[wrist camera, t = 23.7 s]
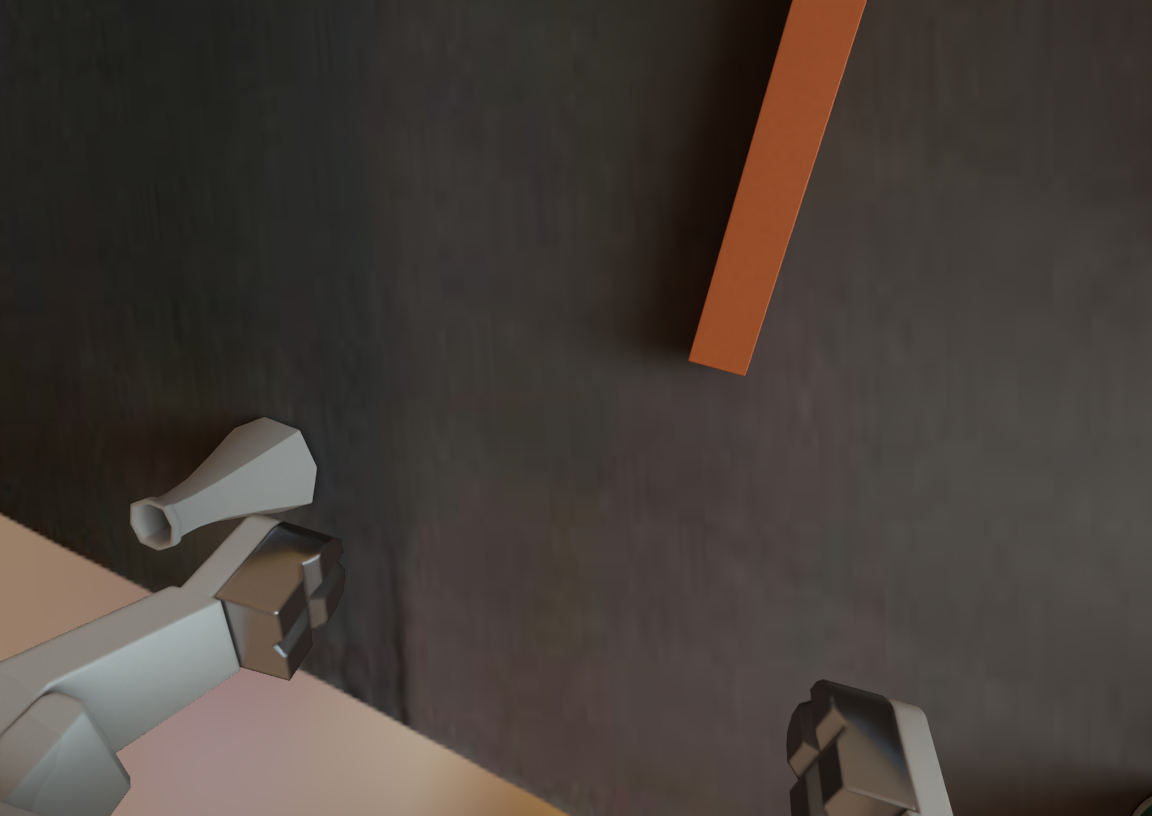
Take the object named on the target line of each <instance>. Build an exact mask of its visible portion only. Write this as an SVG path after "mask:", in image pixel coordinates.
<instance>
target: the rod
mask: <svg viewBox="0 0 1152 816" xmlns="http://www.w3.org/2000/svg"><path fill="white" fill-rule="evenodd" d="M866 1H867V0H792V3H791V6H790V10H789V13H788V17H787V20H786V23H785V27H784V30H783V34H782V37H781V41H780V44H779V48H778V51H777V55H776V58H775V62H774V65H773V68H772V72H771V75H770V79H769V82H768V86H767V89H766V93H765V96H764V100H763V103H762V106H761V110H760V113H759V117H758V120H757V124H756V127H755V131H754V134H753V138H752V141H751V144H750V148H749V151H748V155H747V158H746V162H745V165H744V169H743V172H742V176H741V179H740V182H739V186H738V189H737V193H736V196H735V200H734V203H733V207H732V210H731V214H730V217H729V221H728V224H727V227H726V231H725V234H724V238H723V241H722V245H721V248H720V252H719V255H718V259H717V262H716V265H715V269H714V272H713V276H712V279H711V283H710V286H709V290H708V293H707V297H706V300H705V303H704V307H703V310H702V314H701V317H700V321H699V324H698V328H697V331H696V335H695V338H694V342H693V345H692V348H691V352H690V355H689V359H688V361H691V362H694V363H698V364H702V365H705V366H709V367H713V368H716V369H720V370H724V371H727V372H731V373H735V374H738V375H742V376H745V375H746V372H747V369H748V366H749V363H750V360H751V357H752V354H753V350H754V347H755V344H756V341H757V338H758V335H759V332H760V329H761V326H762V323H763V320H764V317H765V313H766V310H767V307H768V304H769V301H770V298H771V295H772V292H773V289H774V286H775V283H776V279H777V276H778V273H779V270H780V267H781V264H782V261H783V258H784V255H785V252H786V249H787V245H788V242H789V239H790V236H791V233H792V230H793V227H794V224H795V221H796V218H797V215H798V211H799V208H800V205H801V202H802V199H803V196H804V193H805V190H806V187H807V184H808V181H809V177H810V174H811V171H812V168H813V165H814V162H815V159H816V156H817V153H818V150H819V147H820V143H821V140H822V137H823V134H824V131H825V128H826V125H827V122H828V119H829V116H830V113H831V110H832V106H833V103H834V100H835V97H836V94H837V91H838V88H839V85H840V82H841V79H842V76H843V72H844V69H845V66H846V63H847V60H848V57H849V54H850V51H851V48H852V45H853V42H854V38H855V35H856V32H857V29H858V26H859V23H860V20H861V17H862V14H863V11H864V8H865V4H866Z"/></svg>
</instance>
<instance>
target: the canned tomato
mask: <svg viewBox="0 0 1152 816" xmlns="http://www.w3.org/2000/svg"><path fill="white" fill-rule="evenodd" d="M1132 816H1152V796H1151V797H1150V798H1148V799H1147V800H1145V801H1144V802H1143V803H1142V804H1141V805H1140V806H1139V807H1138V808H1137V809H1136V810H1135V812H1134V813H1133V815H1132Z"/></svg>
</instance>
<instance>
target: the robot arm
mask: <svg viewBox="0 0 1152 816" xmlns="http://www.w3.org/2000/svg"><path fill="white" fill-rule="evenodd" d="M342 554H343V545H342V539H339V538H335V537H332V536H329V535H326V534H323V533H319V532H316V531H313V530H310V529H306V528H303V527H300V526H297V525H293V524H290V523H287V522H285V521H281V520H278V519H275V518H271V517H268V516H264V515H261V514H257V513H255V514H253V515H251V516H249V517H248V518H246V519H244V520H243V521H242V522H241V523H240V524H239V526H238V527H237V528H236V529H235V530H234V531H233V532H232V533H231V534H230V535H229V536H228V537H227V538H226V539H225V541H224V542H223V543H222V544H221V545H220V546H219V547H218V548H217V549H216V550H215V551H214V552H213V553H212V555H211V556H210V557H209V558H208V559H207V560H206V561H205V562H204V563H203V564H202V565H201V566H200V567H199V568H198V570H197V571H196V572H195V573H194V574H193V575H192V576H191V577H190V578H189V579H188V580H187V581H186V582H185V583H184V585H183V586H182V587H181V588H179V587H175V586H170V587H168V588H165V589H163V590H161V591H159V592H156V593H154V594H152V595H150V596H147V597H145V598H143V599H141V600H138V601H136V602H134V603H131V604H129V605H127V606H125V607H122V608H120V609H118V610H116V611H113V612H111V613H109V614H107V615H104V616H102V617H100V618H98V619H95V620H93V621H91V622H89V623H86V624H84V625H82V626H80V627H77V628H75V629H73V630H71V631H68V632H66V633H64V634H62V635H59V636H57V637H55V638H52V639H51V640H48V641H46V642H43V643H41V644H39V645H37V646H34V647H33V648H30V649H28V650H25V651H23V652H21V653H19V654H16V655H14V656H12V657H10V658H7V659H5V660H3V661H1V662H0V816H110V815H111V814H112V812H113V811H114V810H115V808H116V807H117V806H118V804H119V803H120V802H121V800H122V799H123V798H124V796H125V795H126V793H127V792H128V791H129V789H130V776H129V775H128V773H127V771H126V770H125V768H124V767H123V765H122V763H121V762H120V760H119V758H118V757H117V755H116V752H118V751H119V750H121V749H123V748H124V747H125V746H127V745H129V744H130V743H132V742H133V741H135V740H136V739H138V738H139V737H141V736H142V735H144V734H145V733H147V732H148V731H149V730H151V729H153V728H154V727H156V726H157V725H159V724H160V723H162V722H163V721H165V720H166V719H168V718H169V717H171V716H172V715H174V714H175V713H177V712H178V711H180V710H181V709H183V708H184V707H186V706H187V705H189V704H190V703H192V702H193V701H195V700H196V699H198V698H199V697H201V696H202V695H204V694H206V693H207V692H209V691H210V690H212V689H213V688H215V687H216V686H217V685H219V684H221V683H222V682H223V681H225V680H227V679H228V678H230V677H231V676H233V675H234V674H236V673H237V672H239V671H240V667H242V668H245V669H249V670H252V671H256V672H260V673H263V674H267V675H270V676H274V677H278V678H281V679H285V680H288V681H290V679H291V678H292V676H293V675H294V673H295V672H296V670H297V669H298V667H299V666H300V664H301V663H302V661H303V660H304V658H305V656H306V655H307V653H308V652H309V650H310V649H311V647H312V646H313V642H312V630H314V629H316V628H318V627H320V626H322V625H323V624H325V623H327V622H328V621H329V619H330V617H331V616H332V614H333V613H334V611H335V609H336V608H337V605H338V603H339V601H340V598H341V596H342V593H343V591H344V585H345V579H346V578H345V569H344V568H343V566H342V565H341V564H340V563H339V561H338V560H339V558H340V557H341V555H342ZM810 693H811V700H810V701H807V702H804V703H800V704H799V705H798V706H797V708H796V709H795V711H794V712H793V714H792V716H791V720H790V723H789V727H788V731H787V762H788V764H789V765H790V767H791V768H792V770H793V772H794V773H795V775H796V777H797V778H798V781H797V782H796V783H795V785H794V786H793V788H792V789H791V790H790V803H791V816H953V813H952V809H951V806H950V802H949V799H948V795H947V791H946V788H945V784H944V781H943V777H942V773H941V770H940V766H939V762H938V759H937V755H936V752H935V748H934V744H933V741H932V737H931V734H930V730H929V726H928V723H927V719H926V716H925V714H924V713H923V711H922V710H921V709H920V708H919V707H916V706H914V705H911V704H907V703H903V702H900V701H896V700H892V699H889V698H885V697H884V696H882V695H878V694H875V693H871V692H868V691H864V690H860V689H857V688H853V687H849V686H846V685H842V684H838V683H835V682H831V681H828V680H824V679H823V680H819V681H817V682H816V683H815V684H814V685H813V687H812V688H811V689H810Z"/></svg>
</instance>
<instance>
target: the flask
mask: <svg viewBox="0 0 1152 816" xmlns="http://www.w3.org/2000/svg"><path fill="white" fill-rule="evenodd" d="M316 471H317V467H316V465H315V462H314V460H313V458H312V456H311V454H310V452H309V450H308V447H307V445H306V443H305V441H304V439H303V437H302V434H301V432H300V430H297V429H295V428H292V427H289V426H287V425H284V424H282V423H279V422H276V421H274V420H271V419H269V418H266V417H263V418H260V419H258V420H255V421H252V422H250V423H247V424H244V425H242V426H239V427H236V428H235V429H234V430H233V431H232V432H231V433H230V434H229V435H228V436H227V437H226V438H225V439H224V440H223V441H222V443H221V444H220V445H219V446H218V447H217V448H216V449H215V451H214V452H213V453H212V454H211V455H210V456H209V457H208V458H207V459H206V460H205V461H204V462H203V463H202V464H201V465H200V466H199V467H198V468H197V469H196V470H195V471H194V472H193V473H192V474H191V475H190V476H189V478H188V479H186V480H185V481H183V482H182V483H181V484H179V485H178V486H176V487H175V488H173V489H172V490H171V491H169V492H168V493H166V494H164V495H162V496H160V497H158V498H157V497H149V498H146V499H143V500H140V501H137V502H135V503H133V504H131V512H130V524H131V526H132V528H133V529H134V531H135V533H136V535H137V537H138V539H139V541H140V543H142V544H145V545H147V546H149V547H152V548H154V549H156V550H158V551H159V550H162V549H165V548H168V547H172V546H174V545H177V544H178V543H179V542H180V541H181V536H183V535H184V534H186V533H188V532H190V531H192V530H194V529H196V528H198V527H199V526H202V525H205V524H208V523H211V522H215V521H221V520H227V519H233V518H240V517H246V516H251V515H253V514H255V513H257V514H261V515H263V514H271V513H278V512H283V511H286V510H290V509H293V508H296V507H299V506H303V505H306V504H309V503H312V499H313V492H314V485H315V478H316Z"/></svg>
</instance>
